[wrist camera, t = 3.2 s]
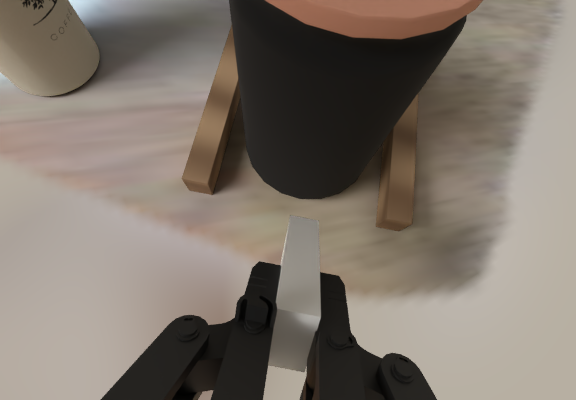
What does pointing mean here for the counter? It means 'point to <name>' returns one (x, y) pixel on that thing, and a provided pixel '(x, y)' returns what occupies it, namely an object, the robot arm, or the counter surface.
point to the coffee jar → (332, 81)
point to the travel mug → (45, 46)
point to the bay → (219, 121)
